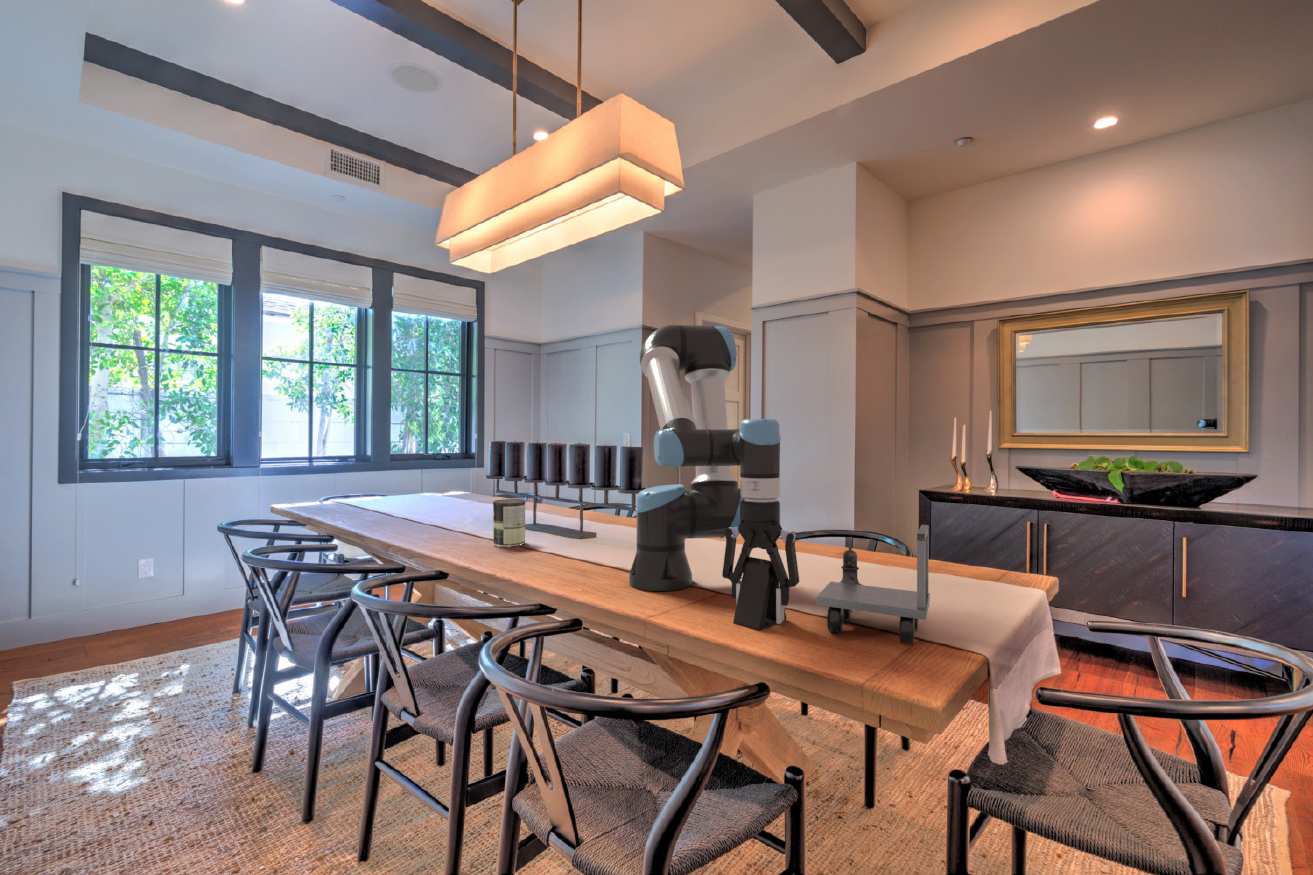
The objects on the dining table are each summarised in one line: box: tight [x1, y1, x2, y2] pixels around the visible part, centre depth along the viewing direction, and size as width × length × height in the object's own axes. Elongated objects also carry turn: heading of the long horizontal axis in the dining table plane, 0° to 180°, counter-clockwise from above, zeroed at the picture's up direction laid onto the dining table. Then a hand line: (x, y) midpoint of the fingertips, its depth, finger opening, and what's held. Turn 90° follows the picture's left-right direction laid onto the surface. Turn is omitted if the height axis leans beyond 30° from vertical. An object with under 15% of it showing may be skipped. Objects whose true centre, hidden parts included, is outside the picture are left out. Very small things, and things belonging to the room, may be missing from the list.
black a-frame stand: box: [733, 556, 788, 631], centre depth 112 cm, size 9×6×12 cm, turn 133°
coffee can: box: [492, 498, 526, 548], centre depth 189 cm, size 10×10×14 cm
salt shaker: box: [838, 546, 863, 585], centre depth 124 cm, size 6×6×12 cm
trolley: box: [816, 524, 931, 645], centre depth 107 cm, size 18×13×19 cm
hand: (760, 618), depth 112 cm, fingers closed on black a-frame stand, 7 cm apart
